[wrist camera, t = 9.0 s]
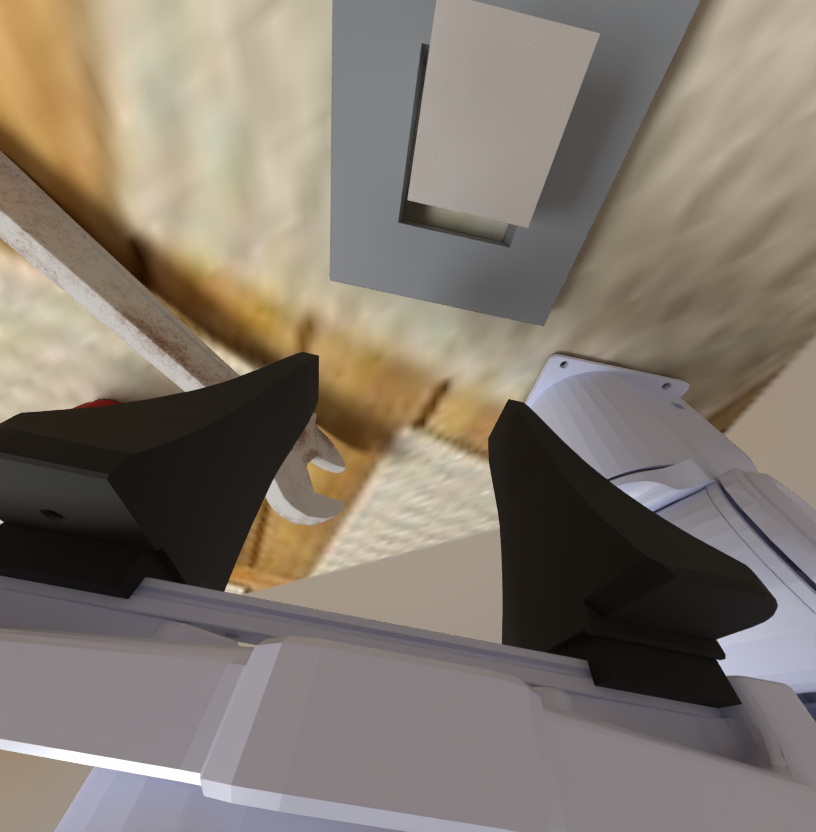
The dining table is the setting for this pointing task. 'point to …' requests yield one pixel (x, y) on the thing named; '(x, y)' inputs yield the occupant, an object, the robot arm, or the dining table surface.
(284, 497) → the wrench
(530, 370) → the dining table surface
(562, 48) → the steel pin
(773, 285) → the dining table surface
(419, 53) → the socket block
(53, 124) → the dining table surface
